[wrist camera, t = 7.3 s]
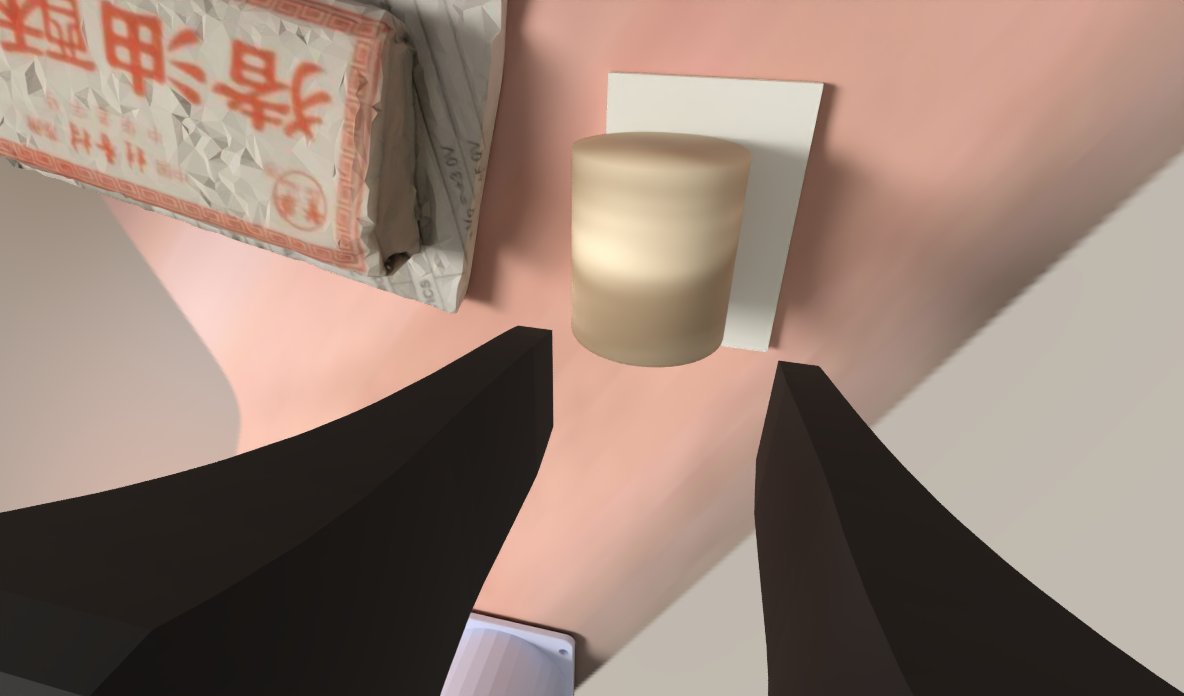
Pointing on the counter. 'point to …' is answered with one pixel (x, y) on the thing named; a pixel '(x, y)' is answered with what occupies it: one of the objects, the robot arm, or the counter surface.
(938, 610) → the robot arm
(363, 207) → the packaged product
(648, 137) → the roller
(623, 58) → the counter surface
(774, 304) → the felt mat
